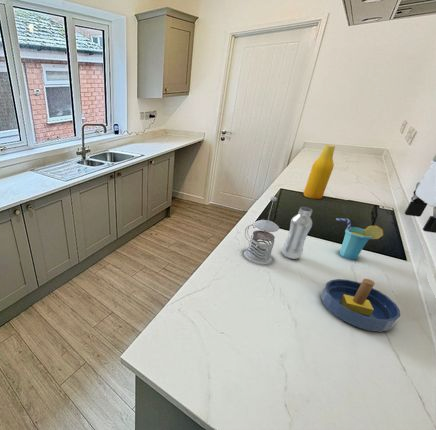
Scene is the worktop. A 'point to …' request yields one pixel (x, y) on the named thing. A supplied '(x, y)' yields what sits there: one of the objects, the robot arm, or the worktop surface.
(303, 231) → the silver metal bottle
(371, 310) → the rubber stamp
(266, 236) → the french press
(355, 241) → the cup
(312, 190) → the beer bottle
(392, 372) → the worktop surface
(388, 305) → the bowl
